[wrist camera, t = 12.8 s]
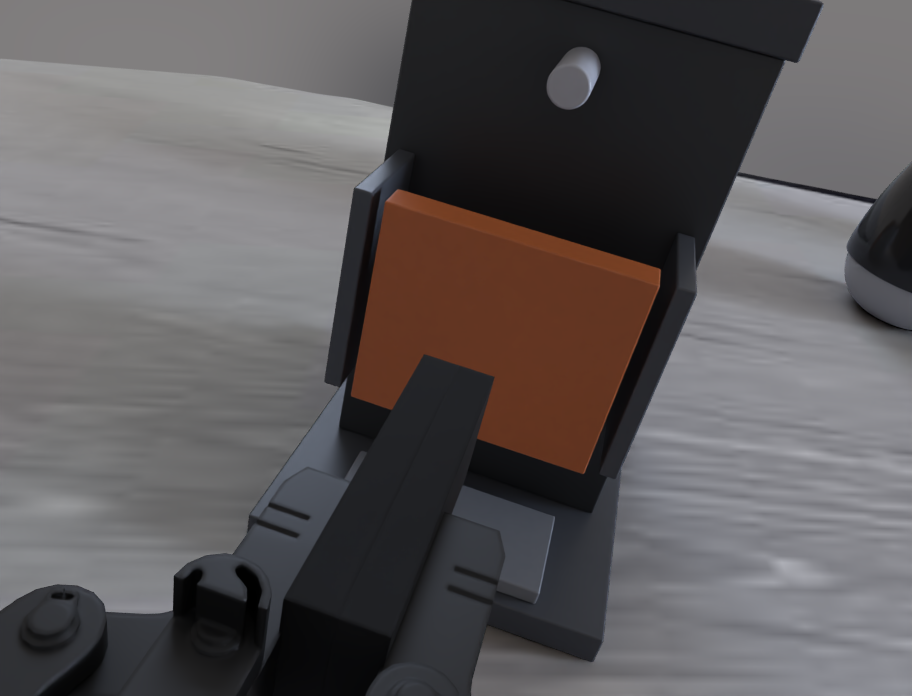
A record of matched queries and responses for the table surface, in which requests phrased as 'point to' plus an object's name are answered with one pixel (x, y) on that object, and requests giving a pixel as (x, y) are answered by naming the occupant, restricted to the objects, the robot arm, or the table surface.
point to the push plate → (503, 322)
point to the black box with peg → (561, 229)
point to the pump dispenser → (884, 255)
